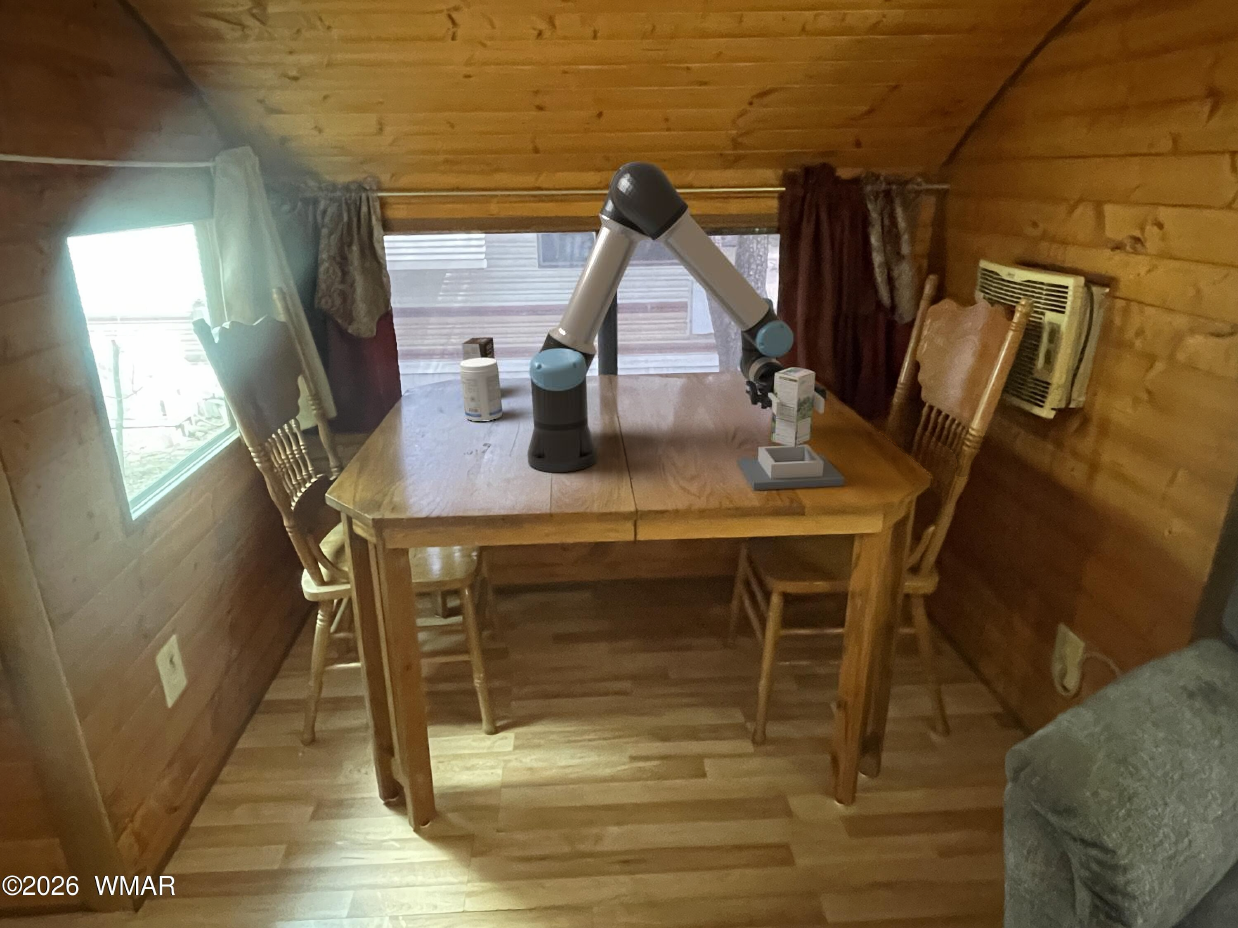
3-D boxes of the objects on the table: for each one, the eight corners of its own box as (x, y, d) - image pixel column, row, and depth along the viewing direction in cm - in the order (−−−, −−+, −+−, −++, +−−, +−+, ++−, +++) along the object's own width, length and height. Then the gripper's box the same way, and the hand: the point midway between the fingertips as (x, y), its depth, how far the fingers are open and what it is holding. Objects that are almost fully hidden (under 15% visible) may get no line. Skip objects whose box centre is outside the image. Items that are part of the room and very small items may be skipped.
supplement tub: (498, 410, 210) (493, 355, 205) (506, 420, 201) (502, 363, 196) (461, 414, 207) (456, 359, 201) (468, 425, 198) (463, 367, 193)
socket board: (753, 490, 154) (754, 468, 153) (738, 465, 168) (738, 445, 166) (843, 485, 156) (845, 464, 154) (821, 461, 169) (822, 441, 167)
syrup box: (787, 435, 163) (790, 366, 158) (811, 441, 159) (815, 370, 154) (770, 441, 159) (773, 371, 154) (795, 448, 155) (799, 376, 150)
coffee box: (488, 401, 218) (483, 343, 212) (466, 401, 219) (460, 343, 213) (498, 392, 226) (493, 336, 221) (476, 392, 227) (471, 336, 222)
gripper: (815, 392, 175) (851, 423, 153) (723, 397, 174) (746, 429, 152) (817, 359, 172) (854, 385, 151) (723, 363, 171) (747, 391, 150)
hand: (800, 407), depth 152 cm, fingers closed on syrup box, 8 cm apart
